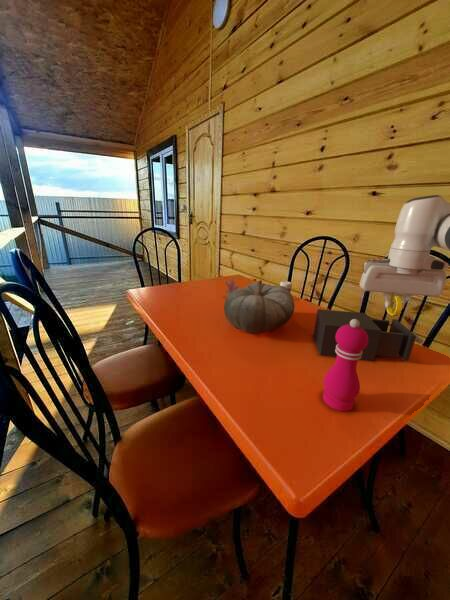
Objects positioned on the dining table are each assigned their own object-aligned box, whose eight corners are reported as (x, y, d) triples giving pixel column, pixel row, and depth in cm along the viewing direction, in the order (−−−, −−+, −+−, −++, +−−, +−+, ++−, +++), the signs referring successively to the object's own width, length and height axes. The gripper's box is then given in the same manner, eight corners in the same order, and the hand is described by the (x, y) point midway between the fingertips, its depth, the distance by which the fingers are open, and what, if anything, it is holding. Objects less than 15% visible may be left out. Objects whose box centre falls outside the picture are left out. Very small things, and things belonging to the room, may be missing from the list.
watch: (401, 319, 71) (407, 299, 69) (391, 318, 72) (396, 298, 70) (392, 311, 77) (397, 292, 75) (382, 310, 77) (387, 291, 75)
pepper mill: (323, 386, 61) (338, 309, 55) (356, 397, 58) (376, 317, 51) (317, 404, 56) (333, 321, 49) (353, 418, 52) (375, 330, 45)
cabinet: (359, 340, 85) (365, 313, 82) (373, 361, 73) (381, 330, 70) (313, 335, 87) (317, 309, 84) (320, 355, 75) (325, 325, 72)
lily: (221, 305, 114) (231, 289, 110) (211, 289, 122) (221, 273, 118) (241, 308, 122) (251, 293, 117) (231, 293, 129) (240, 278, 125)
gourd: (305, 317, 95) (304, 273, 88) (278, 354, 77) (274, 303, 70) (247, 308, 109) (242, 269, 102) (213, 338, 91) (204, 294, 84)
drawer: (404, 343, 82) (411, 320, 79) (424, 362, 71) (433, 337, 69) (346, 337, 85) (350, 315, 82) (357, 355, 74) (363, 330, 71)
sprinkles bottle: (276, 311, 107) (279, 280, 103) (287, 312, 107) (291, 281, 102) (277, 315, 103) (281, 283, 98) (289, 316, 103) (293, 284, 98)
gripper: (369, 259, 67) (359, 308, 72) (456, 264, 64) (439, 315, 69) (361, 255, 73) (352, 300, 78) (440, 260, 70) (425, 306, 75)
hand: (393, 307), depth 73 cm, fingers closed on watch
